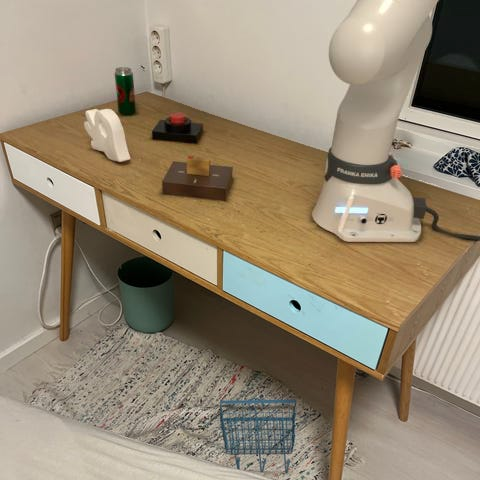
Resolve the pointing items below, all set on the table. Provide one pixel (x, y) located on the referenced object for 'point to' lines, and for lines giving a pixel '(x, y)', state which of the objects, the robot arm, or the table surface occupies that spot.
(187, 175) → the lock plate
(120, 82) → the soda can
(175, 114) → the lock button
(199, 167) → the lock turn
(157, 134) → the button base
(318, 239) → the table surface
